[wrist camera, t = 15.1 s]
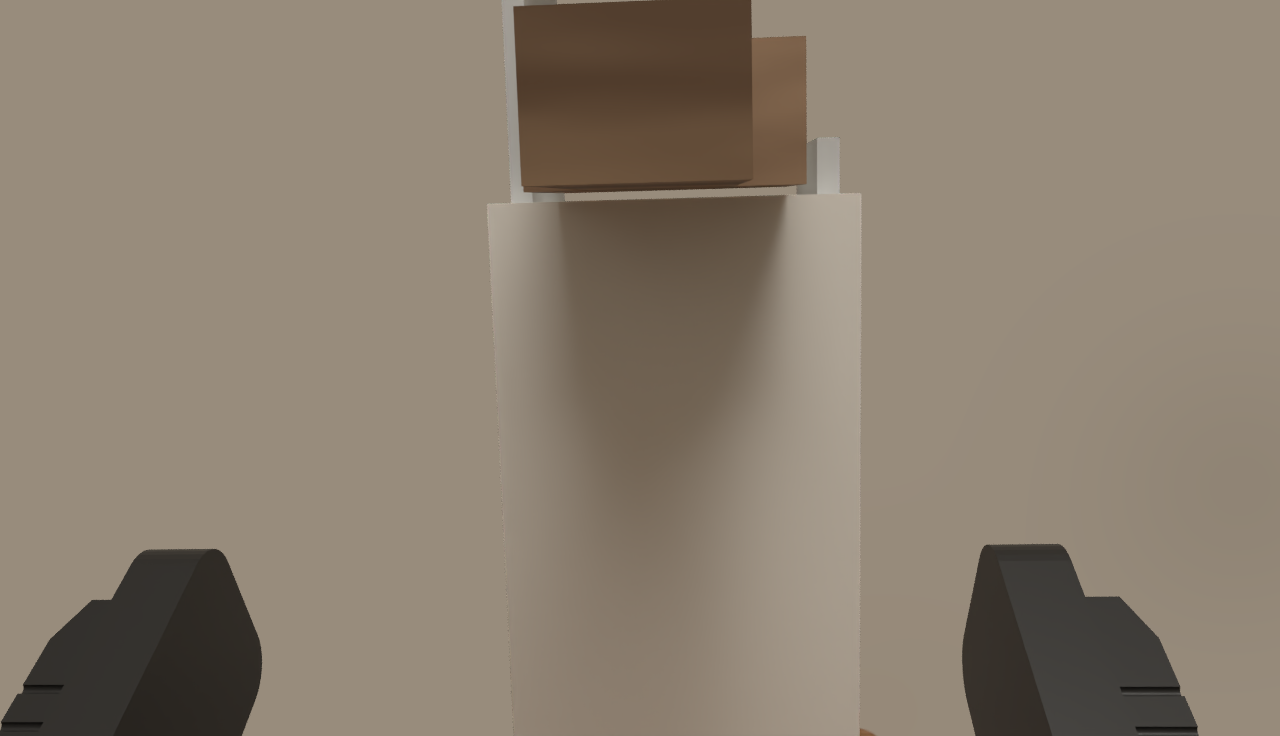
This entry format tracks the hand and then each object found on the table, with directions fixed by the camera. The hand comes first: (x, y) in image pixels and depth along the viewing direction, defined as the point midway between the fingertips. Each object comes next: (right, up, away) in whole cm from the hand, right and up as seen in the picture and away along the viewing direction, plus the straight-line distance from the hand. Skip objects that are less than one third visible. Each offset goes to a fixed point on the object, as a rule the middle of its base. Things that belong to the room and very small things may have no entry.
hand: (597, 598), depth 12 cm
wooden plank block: (+1, +7, +17) cm, 18 cm away
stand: (+3, -22, +36) cm, 43 cm away
